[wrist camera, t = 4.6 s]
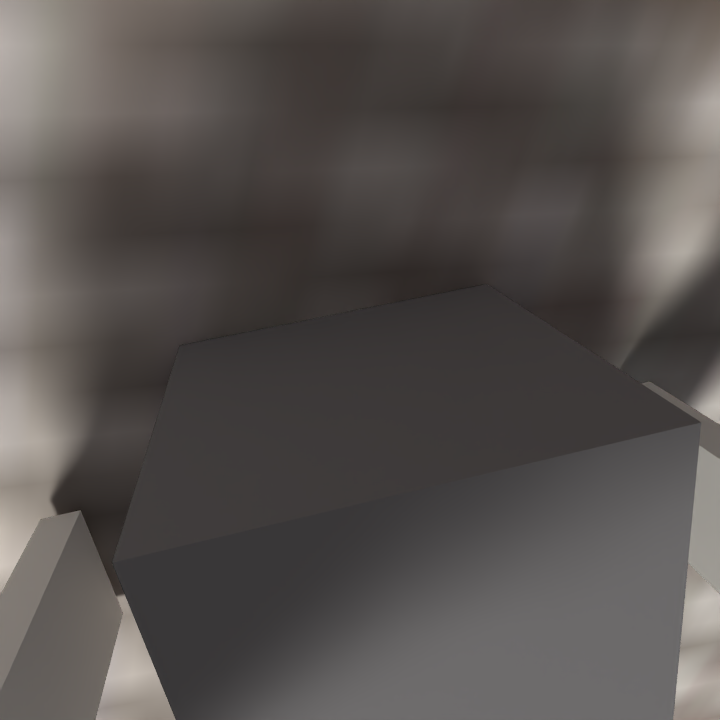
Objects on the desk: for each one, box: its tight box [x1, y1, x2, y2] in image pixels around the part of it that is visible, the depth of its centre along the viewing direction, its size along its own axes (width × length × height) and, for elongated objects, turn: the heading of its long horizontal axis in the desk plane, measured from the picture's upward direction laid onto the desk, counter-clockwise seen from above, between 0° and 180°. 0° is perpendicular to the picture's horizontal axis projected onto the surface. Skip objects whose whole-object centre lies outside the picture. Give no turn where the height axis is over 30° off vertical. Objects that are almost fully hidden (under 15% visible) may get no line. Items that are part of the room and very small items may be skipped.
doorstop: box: [112, 284, 701, 720], centre depth 10 cm, size 8×6×6 cm
